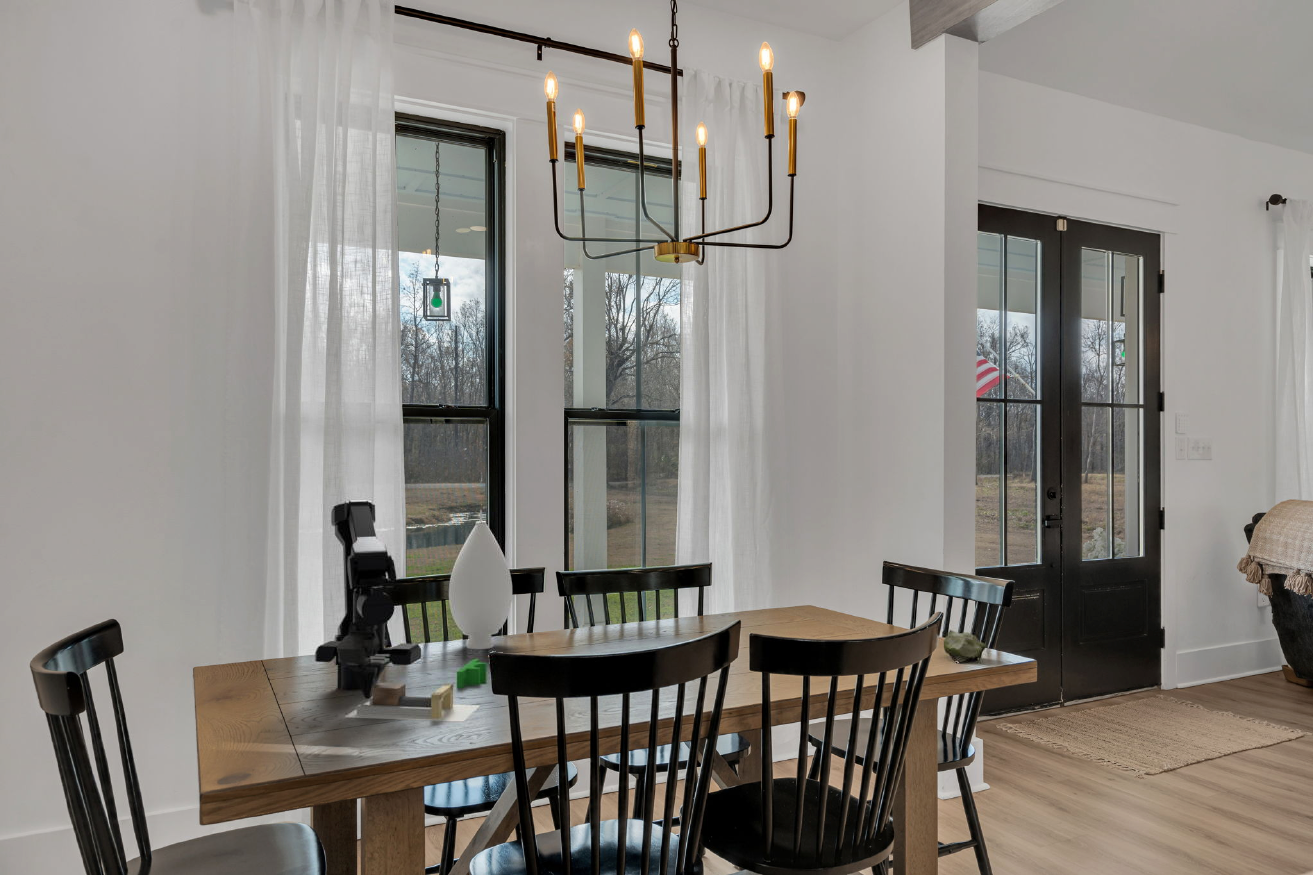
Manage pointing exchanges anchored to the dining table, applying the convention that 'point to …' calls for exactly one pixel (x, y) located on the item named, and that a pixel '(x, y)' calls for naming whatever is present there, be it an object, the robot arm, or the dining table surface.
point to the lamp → (480, 588)
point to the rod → (414, 701)
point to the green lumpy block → (962, 646)
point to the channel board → (420, 709)
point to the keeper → (387, 694)
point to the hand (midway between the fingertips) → (368, 698)
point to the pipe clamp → (472, 674)
